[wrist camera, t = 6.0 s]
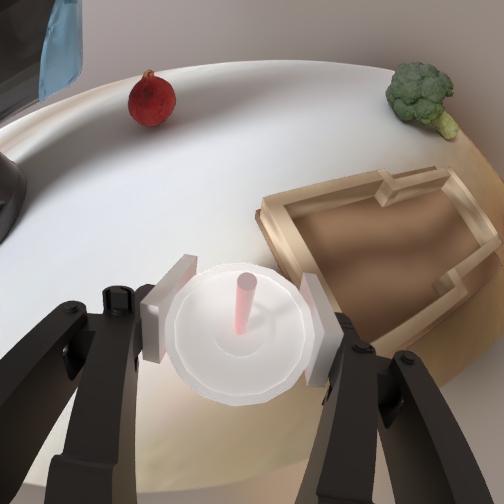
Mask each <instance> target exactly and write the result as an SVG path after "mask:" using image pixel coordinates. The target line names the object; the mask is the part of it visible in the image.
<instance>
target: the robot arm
mask: <svg viewBox="0 0 504 504" xmlns="http://www.w3.org/2000/svg"><path fill="white" fill-rule="evenodd" d="M82 65H83V40H82V0H0V124H2V123H3V122H5V121H7V120H8V119H10V118H12V117H13V116H15V115H17V114H18V113H20V112H22V111H24V110H26V109H27V108H29V107H31V106H33V105H35V104H37V103H39V102H40V103H42V102H43V101H45V100H46V98H48V97H49V96H51V95H53V94H55V93H57V92H59V91H61V90H63V89H64V88H67V87H69V86H70V85H72V84H73V83H74V82H75V81H76V80H77V79H78V77H79V76H80V74H81V70H82ZM25 193H26V180H25V177H24V175H23V174H22V172H21V171H20V169H19V167H18V166H17V165H16V164H15V163H14V162H13V161H11V160H9V159H8V158H7V157H6V156H5V155H3V154H2V153H1V152H0V242H1V241H2V239H3V238H4V237H5V235H6V234H7V232H8V231H9V229H10V228H11V226H12V224H13V223H14V221H15V219H16V217H17V215H18V213H19V211H20V209H21V206H22V203H23V200H24V197H25ZM196 267H197V256H193V255H187V254H185V255H184V256H183V257H182V258H181V259H180V260H179V261H178V262H177V263H176V264H175V265H174V266H173V267H172V268H171V270H170V271H169V272H168V273H167V274H166V275H165V276H164V277H163V278H162V279H161V280H160V281H159V282H158V284H157V285H151V284H145V285H143V286H141V287H139V288H138V289H137V290H136V291H135V292H134V290H133V289H132V288H129V287H127V286H111V287H108V288H105V289H104V290H103V291H102V293H103V306H104V311H103V314H91V313H87V311H86V305H84V304H83V303H81V302H79V301H67V302H64V303H62V304H60V305H59V306H57V307H56V308H55V309H54V310H53V311H52V312H51V313H49V314H48V315H47V316H46V317H45V318H44V319H43V320H42V321H41V322H39V323H38V324H37V325H36V326H35V327H34V328H33V329H32V330H31V331H30V332H28V333H27V334H26V335H25V336H24V337H23V338H22V339H21V340H20V341H19V342H18V343H17V344H16V345H15V346H14V347H13V348H12V349H11V350H10V351H9V352H8V353H7V354H6V355H5V356H4V357H3V358H2V359H1V360H0V504H9V503H10V502H11V501H12V500H13V498H14V497H15V496H16V494H17V492H18V490H19V489H20V487H21V485H22V483H23V481H24V479H25V477H26V475H27V473H28V471H29V469H30V467H31V465H32V464H33V462H34V460H35V458H36V456H37V454H38V452H39V451H40V449H41V447H42V445H43V443H44V442H45V440H46V438H47V436H48V435H49V433H50V431H51V430H52V428H53V426H54V424H55V423H56V421H57V419H58V418H59V416H60V414H61V413H62V411H63V409H64V408H65V406H66V405H67V403H68V401H69V400H70V398H71V397H72V395H73V393H74V392H75V390H76V389H77V387H78V389H77V393H76V397H75V400H74V404H73V408H72V412H71V416H70V421H69V425H68V429H67V434H66V439H65V444H64V449H63V452H62V454H61V455H54V456H53V458H52V459H51V463H50V466H49V472H48V478H47V485H46V492H45V500H44V504H137V496H136V476H135V418H136V396H137V380H138V368H139V360H138V355H139V353H140V352H141V350H142V354H143V360H147V361H151V362H155V363H159V364H160V362H161V360H162V358H163V356H164V354H165V352H166V339H165V321H166V317H167V315H168V312H169V310H170V307H171V304H172V302H173V299H174V297H175V295H176V294H177V293H178V292H179V291H180V290H181V289H182V288H183V287H184V286H185V285H186V284H187V283H188V281H189V280H190V279H191V278H192V277H193V276H194V275H196ZM299 292H300V294H301V296H302V297H303V299H304V300H305V302H306V303H307V305H308V306H309V308H310V311H311V316H312V321H313V327H314V332H315V339H314V344H313V348H312V353H311V357H310V362H309V364H308V366H307V367H306V369H305V370H304V372H305V377H306V383H307V386H310V387H325V384H326V382H327V379H328V378H329V381H330V386H329V388H328V391H327V393H326V395H325V398H324V400H323V402H322V405H324V406H323V411H322V415H321V419H320V423H319V426H318V430H317V434H316V438H315V441H314V445H313V448H312V452H311V455H310V458H309V462H308V465H307V468H306V471H305V474H304V478H303V481H302V484H301V487H300V490H299V492H298V496H297V498H296V501H295V504H374V503H373V502H372V492H373V483H374V474H375V462H376V447H377V428H378V432H379V436H380V439H381V443H382V447H383V451H384V455H385V459H386V463H387V467H388V471H389V475H390V480H391V484H392V488H393V494H394V498H395V503H396V504H494V503H493V500H492V497H491V495H490V492H489V490H488V487H487V485H486V482H485V480H484V478H483V475H482V473H481V471H480V468H479V466H478V464H477V462H476V460H475V458H474V455H473V453H472V451H471V449H470V447H469V445H468V443H467V441H466V439H465V437H464V435H463V433H462V431H461V429H460V427H459V425H458V423H457V421H456V420H455V417H454V416H453V414H452V412H451V410H450V408H449V406H448V405H447V403H446V401H445V399H444V398H443V396H442V394H441V392H440V390H439V389H438V387H437V385H436V384H435V382H434V380H433V378H432V377H431V375H430V373H429V372H428V370H427V368H426V367H425V365H424V364H423V362H422V360H421V359H420V358H419V357H418V356H417V355H416V354H414V353H413V352H411V351H405V350H399V351H397V352H395V354H394V356H393V358H392V359H390V358H386V357H382V356H378V355H376V350H375V348H374V347H373V346H372V345H371V344H369V343H368V342H365V341H362V340H361V339H360V337H359V335H358V333H357V331H356V329H355V327H354V326H353V325H352V322H351V320H350V318H349V317H348V316H346V315H345V314H344V313H340V312H334V311H333V309H332V307H331V305H330V303H329V300H328V298H327V296H326V294H325V292H324V290H323V288H322V286H321V284H320V281H319V279H318V277H317V275H316V274H312V273H305V272H303V276H302V281H301V286H300V290H299ZM64 349H65V350H64ZM63 350H64V352H63ZM402 401H403V402H402Z"/></svg>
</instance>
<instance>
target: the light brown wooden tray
mask: <svg viewBox="0 0 504 504" xmlns="http://www.w3.org/2000/svg"><path fill="white" fill-rule="evenodd" d="M255 219H256V221H257V223H258V225H259V227H260V229H261V231H262V233H263V235H264V237H265V239H266V241H267V243H268V245H269V247H270V249H271V251H272V253H273V255H274V257H275V259H276V261H277V263H278V265H279V267H280V269H281V271H282V273H283V275H284V277H285V279H287V280H288V281H289V282H291V283H292V284H293V285H295V286H296V288H297V289H298V291H299V290H300V286H301V281H302V276H303V272H305V273H312V274H316V275H317V277H318V279H319V281H320V284H321V286H322V288H323V290H324V292H325V294H326V296H327V298H328V300H329V303H330V305H331V307H332V309H333V311H334V312H340V313H344V314H345V315H346V316H348V317H349V318H350V320H351V322H352V325H353V326H354V327H355V329H356V331H357V333H358V335H359V337H360V339H361V340H362V341H365V342H368V343H369V344H371V345H372V346H373V347H374V348H375V350H376V355H378V356H382V357H386V358H390V359H391V358H393V356H394V354H395V352H397V351H399V350H404V349H406V348H407V347H409V346H410V345H412V344H413V343H414V342H416V341H417V340H418V339H420V338H421V337H423V336H424V335H425V334H427V333H428V332H429V331H430V330H432V329H433V328H434V327H436V326H437V325H438V324H439V323H441V322H442V321H443V320H444V319H446V318H447V317H448V316H449V315H451V314H452V313H453V312H454V311H455V310H456V309H458V308H459V307H460V306H461V305H462V304H463V303H465V302H466V301H467V300H468V299H469V298H470V297H471V296H472V295H473V294H475V293H476V292H477V291H478V290H479V289H480V288H481V287H482V286H483V285H484V284H485V283H486V282H487V281H488V280H489V279H490V278H491V277H492V276H493V275H494V274H495V273H496V272H497V271H498V270H499V269H500V268H501V267H502V266H503V265H502V264H501V262H500V260H499V258H498V256H497V255H496V253H495V251H494V250H495V249H497V248H498V247H499V246H500V245H501V244H502V243H503V241H502V239H501V238H500V236H499V234H498V233H497V231H496V229H495V228H494V226H493V225H492V223H491V222H490V220H489V219H488V217H487V216H486V214H485V213H484V211H483V210H482V208H481V207H480V205H479V204H478V203H477V201H476V200H475V198H474V197H473V196H472V194H471V193H470V192H469V190H468V189H467V188H466V186H465V185H464V184H463V183H462V181H461V180H460V179H459V177H458V176H457V175H456V174H455V173H454V171H453V170H452V169H451V168H450V167H446V168H442V169H436V167H435V166H433V167H428V168H424V169H419V170H414V171H410V172H405V173H401V174H396V175H392V176H391V175H390V174H389V173H388V172H387V170H386V169H381V170H376V171H372V172H367V173H362V174H358V175H353V176H348V177H344V178H340V179H335V180H331V181H327V182H322V183H318V184H314V185H310V186H306V187H302V188H298V189H294V190H290V191H286V192H282V193H278V194H274V195H270V196H267V197H263V199H262V205H261V209H258V210H256V214H255Z"/></svg>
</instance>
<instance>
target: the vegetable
mask: <svg viewBox="0 0 504 504" xmlns="http://www.w3.org/2000/svg"><path fill="white" fill-rule="evenodd" d="M391 82H392V83H391V85H390V86H389V87H388V89H387V91H386V97H387V101H388V102H389V105H390V106H391V107H392V108H393V109H394V111H395V113H396V114H397V115H398V117H399V118H400V120H403V121H405V120H413V119H418V120H420V121H421V123H422V124H423V125H429V124H430V123H432V124H433V125H434V126H435V127H436V128H437V131H438V132H440V134H441V135H442V136H443V138H444V139H453V138H454V137H455V136H456V135H457V133H458V130H459V126H458V125H457V124H456V122H455V121H454V120H453V119H452V118H451V115H449V114H447V113H446V112H445V111H444V107H443V105H442V104H443V103H442V101H443V99H444V98H445V96H447V97H451V96H453V92H452V89H453V83H452V82H451V80H450V78H449V77H448V76H447V75H446V74H445V73H442V72H440V71H438V70H437V69H436V68H435V67H434V66H432V65H430V64H422V63H420V62H414V63H404V64H401V65H399V66H398V67H397V69H396V71H395V74H394V75H393V76H392V81H391Z"/></svg>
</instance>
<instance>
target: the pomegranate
mask: <svg viewBox="0 0 504 504" xmlns="http://www.w3.org/2000/svg"><path fill="white" fill-rule="evenodd" d="M175 104H176V97H175V93H174V90H173V88H172V86H171V85H170V84H169V83H168V82H167V81H166V80H164V79H162V78H159V77H156V76H154V71H152V70H147V71H146V72H144V75H143V77H142V79H141V80H140V81H139V82H138V83H137V84H136V85H135V86H134V87H133V89H132V90H131V92H130V95H129V100H128V109H129V112H130V115H131V116H132V117H133V118H134V119H135V120H136V121H137V122H138V123H140V124H142V125H145V126H158V125H160V124H161V123H162V122H164V121H165V120H166V119H167V118H168V117H169V116H170V115H171V113H172V111H173V110H174V107H175Z"/></svg>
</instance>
